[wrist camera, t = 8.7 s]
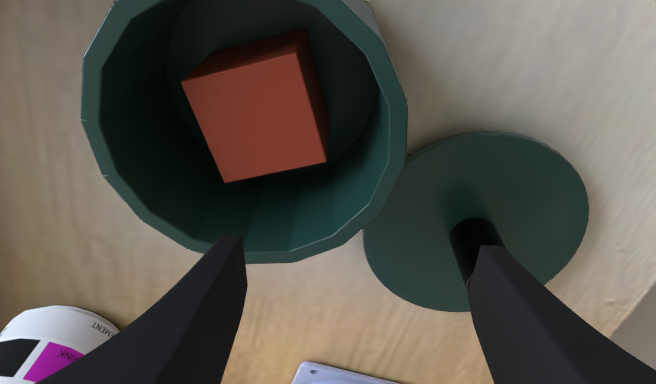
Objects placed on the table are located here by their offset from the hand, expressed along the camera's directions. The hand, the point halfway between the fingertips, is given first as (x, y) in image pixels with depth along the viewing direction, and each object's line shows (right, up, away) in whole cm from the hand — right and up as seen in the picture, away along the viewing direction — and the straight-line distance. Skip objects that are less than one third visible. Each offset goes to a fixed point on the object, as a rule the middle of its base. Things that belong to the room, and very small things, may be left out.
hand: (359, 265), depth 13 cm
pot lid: (+7, 0, +10) cm, 12 cm away
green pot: (-3, +7, +6) cm, 10 cm away
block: (-3, +7, +6) cm, 10 cm away
